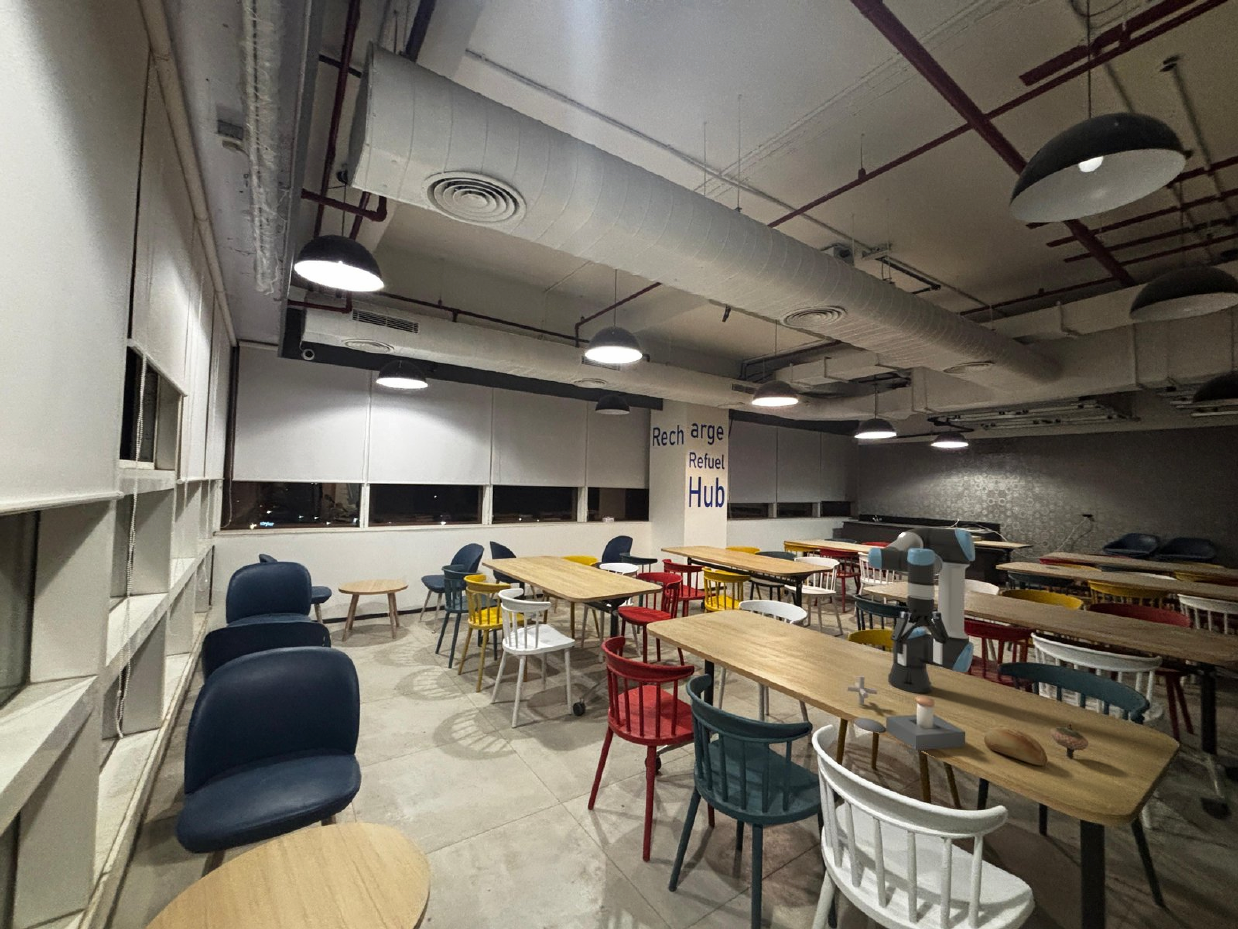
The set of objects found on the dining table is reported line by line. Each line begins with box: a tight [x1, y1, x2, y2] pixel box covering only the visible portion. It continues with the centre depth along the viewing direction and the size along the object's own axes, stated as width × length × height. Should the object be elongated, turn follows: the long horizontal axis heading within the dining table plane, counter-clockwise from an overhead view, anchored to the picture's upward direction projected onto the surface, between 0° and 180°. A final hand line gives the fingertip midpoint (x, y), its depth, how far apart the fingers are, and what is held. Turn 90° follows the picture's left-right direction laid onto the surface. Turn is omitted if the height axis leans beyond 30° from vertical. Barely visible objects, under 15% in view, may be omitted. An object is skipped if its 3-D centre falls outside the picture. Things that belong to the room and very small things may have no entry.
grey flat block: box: [885, 713, 966, 752], centre depth 154 cm, size 18×12×4 cm, turn 102°
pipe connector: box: [845, 675, 878, 706], centre depth 178 cm, size 10×10×10 cm
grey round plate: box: [853, 717, 886, 733], centre depth 161 cm, size 9×9×1 cm
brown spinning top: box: [1050, 723, 1089, 759], centre depth 146 cm, size 8×8×10 cm
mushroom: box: [915, 695, 935, 729], centre depth 154 cm, size 5×5×12 cm
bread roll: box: [983, 725, 1048, 766], centre depth 145 cm, size 10×15×8 cm, turn 40°
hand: (919, 663), depth 156 cm, fingers open, 13 cm apart
